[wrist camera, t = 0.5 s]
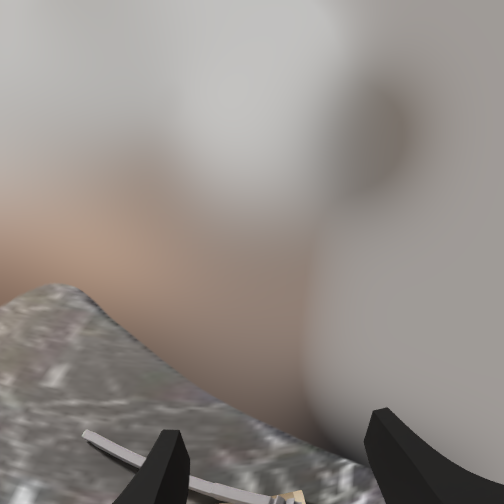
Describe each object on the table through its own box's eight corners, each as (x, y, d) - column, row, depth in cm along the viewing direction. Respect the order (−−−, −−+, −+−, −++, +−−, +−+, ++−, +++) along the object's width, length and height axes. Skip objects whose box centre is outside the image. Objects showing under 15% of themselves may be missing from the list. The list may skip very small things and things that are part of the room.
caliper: (290, 511, 20) (313, 500, 16) (287, 521, 19) (310, 512, 16) (87, 430, 23) (67, 401, 20) (81, 438, 22) (60, 410, 19)
